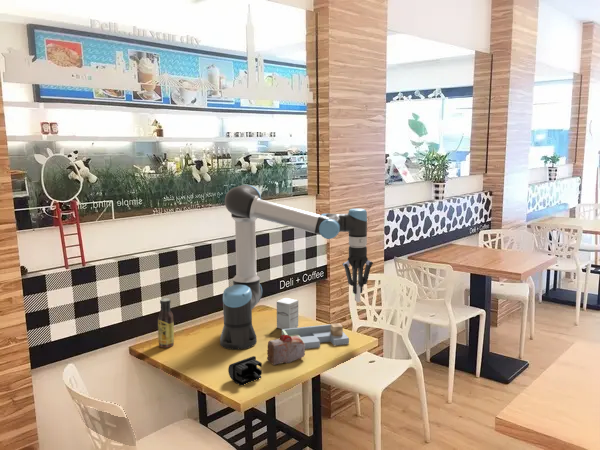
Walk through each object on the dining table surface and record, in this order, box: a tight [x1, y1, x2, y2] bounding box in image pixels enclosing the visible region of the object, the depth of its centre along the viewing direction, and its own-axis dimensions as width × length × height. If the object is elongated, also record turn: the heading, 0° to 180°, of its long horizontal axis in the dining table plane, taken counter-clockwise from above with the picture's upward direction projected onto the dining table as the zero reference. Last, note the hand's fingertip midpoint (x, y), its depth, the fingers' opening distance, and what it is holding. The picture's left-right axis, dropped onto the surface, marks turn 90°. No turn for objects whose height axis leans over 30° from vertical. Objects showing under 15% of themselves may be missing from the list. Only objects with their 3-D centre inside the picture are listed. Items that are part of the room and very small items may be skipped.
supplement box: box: [276, 297, 299, 330], centre depth 226 cm, size 7×7×13 cm
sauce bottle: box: [157, 297, 175, 349], centre depth 206 cm, size 7×6×20 cm
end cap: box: [227, 355, 263, 386], centre depth 177 cm, size 10×7×7 cm
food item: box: [266, 334, 306, 366], centre depth 193 cm, size 14×8×10 cm, turn 119°
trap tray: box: [281, 323, 350, 350], centre depth 210 cm, size 26×11×5 cm, turn 105°
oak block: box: [330, 322, 344, 336], centre depth 212 cm, size 4×4×4 cm
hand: (357, 300), depth 212 cm, fingers closed
